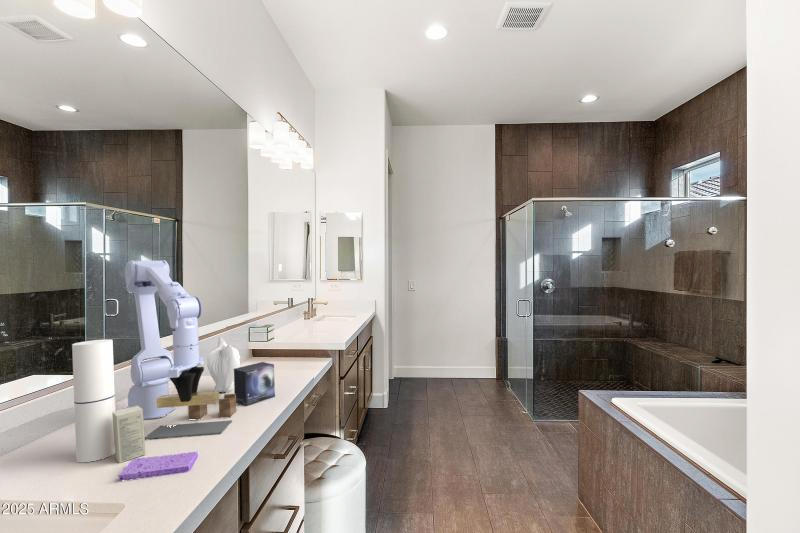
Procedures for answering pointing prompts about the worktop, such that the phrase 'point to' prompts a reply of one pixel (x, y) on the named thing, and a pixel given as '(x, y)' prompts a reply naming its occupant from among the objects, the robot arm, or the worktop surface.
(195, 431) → the mat
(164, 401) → the rail
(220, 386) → the shell sculpture
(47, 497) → the worktop surface
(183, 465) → the sponges
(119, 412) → the skincare box
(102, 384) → the cylindrical container
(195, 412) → the posts
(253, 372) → the small box
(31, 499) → the worktop surface
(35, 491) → the worktop surface
